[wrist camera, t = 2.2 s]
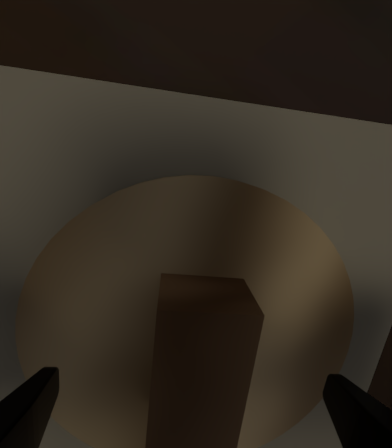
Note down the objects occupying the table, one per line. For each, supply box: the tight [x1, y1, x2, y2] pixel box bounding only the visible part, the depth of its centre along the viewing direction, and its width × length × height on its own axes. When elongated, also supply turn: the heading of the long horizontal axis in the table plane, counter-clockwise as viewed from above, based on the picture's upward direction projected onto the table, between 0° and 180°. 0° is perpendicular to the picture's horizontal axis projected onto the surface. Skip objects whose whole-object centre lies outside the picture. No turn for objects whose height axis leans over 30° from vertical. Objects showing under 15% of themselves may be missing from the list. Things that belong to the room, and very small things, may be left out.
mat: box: [0, 65, 392, 448], centre depth 11 cm, size 18×18×1 cm
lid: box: [15, 175, 354, 448], centre depth 9 cm, size 13×13×3 cm
